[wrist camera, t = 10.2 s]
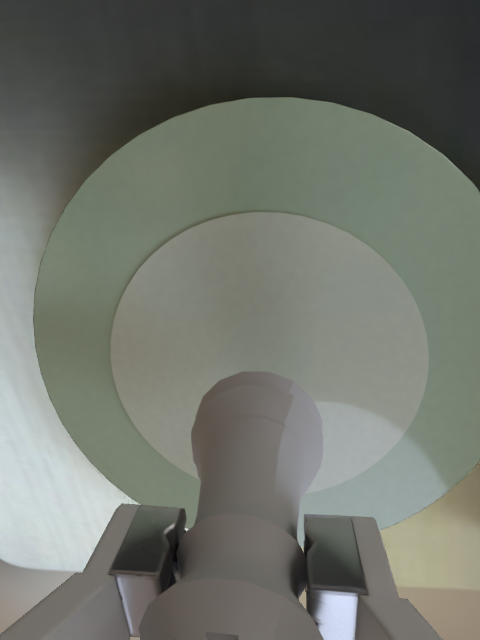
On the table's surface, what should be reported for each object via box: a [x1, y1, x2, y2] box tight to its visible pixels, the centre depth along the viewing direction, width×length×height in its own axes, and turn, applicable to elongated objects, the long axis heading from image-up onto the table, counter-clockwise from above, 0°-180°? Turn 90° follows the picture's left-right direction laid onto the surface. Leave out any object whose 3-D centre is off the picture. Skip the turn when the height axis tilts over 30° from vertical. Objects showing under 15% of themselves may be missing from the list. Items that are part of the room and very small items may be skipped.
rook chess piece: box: [138, 371, 324, 640], centre depth 9 cm, size 4×4×8 cm
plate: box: [33, 97, 480, 547], centre depth 15 cm, size 20×20×1 cm
